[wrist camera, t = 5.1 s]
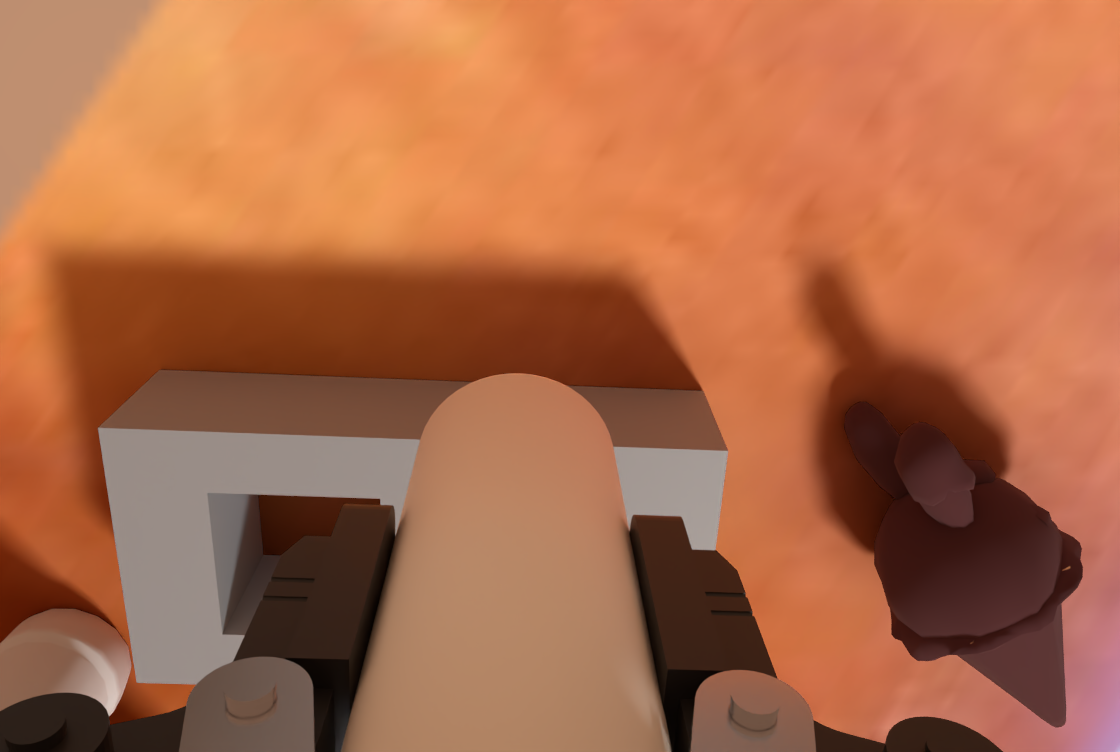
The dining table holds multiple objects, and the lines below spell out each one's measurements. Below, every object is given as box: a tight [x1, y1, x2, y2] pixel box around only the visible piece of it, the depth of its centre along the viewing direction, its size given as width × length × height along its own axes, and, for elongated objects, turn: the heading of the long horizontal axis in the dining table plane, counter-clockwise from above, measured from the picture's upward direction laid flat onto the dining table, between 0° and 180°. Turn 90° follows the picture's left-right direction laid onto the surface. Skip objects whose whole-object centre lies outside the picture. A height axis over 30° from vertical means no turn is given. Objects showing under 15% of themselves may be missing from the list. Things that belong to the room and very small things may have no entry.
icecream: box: [844, 402, 1083, 727], centre depth 34 cm, size 7×7×15 cm
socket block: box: [98, 370, 728, 684], centre depth 33 cm, size 20×10×5 cm, turn 87°
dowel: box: [341, 373, 672, 752], centre depth 12 cm, size 4×4×10 cm
